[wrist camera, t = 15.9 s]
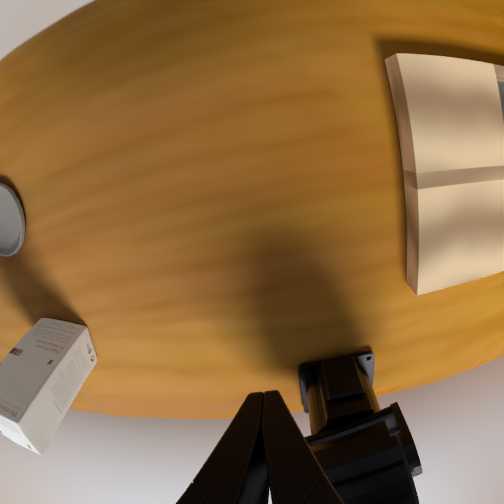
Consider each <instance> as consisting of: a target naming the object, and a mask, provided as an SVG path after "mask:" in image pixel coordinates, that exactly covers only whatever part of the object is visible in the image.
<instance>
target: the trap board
mask: <svg viewBox="0 0 504 504" xmlns="http://www.w3.org/2000/svg"><path fill="white" fill-rule="evenodd" d="M384 61H385V65H386V69H387V73H388V78H389V82H390V87H391V92H392V97H393V103H394V108H395V114H396V120H397V126H398V133H399V140H400V148H401V156H402V165H403V175H404V187H405V202H406V225H407V278H406V283H407V284H408V285H409V286H410V288H411V289H412V290H413V291H414V292H415V294H416V295H421V294H425V293H429V292H432V291H436V290H440V289H444V288H447V287H451V286H455V285H458V284H462V283H465V282H469V281H472V280H476V279H479V278H482V277H486V276H489V275H492V274H495V273H498V272H501V271H504V66H500V65H495V64H491V63H485V62H480V61H474V60H467V59H460V58H453V57H444V56H434V55H422V54H404V53H396V54H394V55H392V56H390V57H388V58H387V59H385V60H384Z"/></svg>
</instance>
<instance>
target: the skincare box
mask: <svg viewBox="0 0 504 504" xmlns="http://www.w3.org/2000/svg"><path fill="white" fill-rule="evenodd" d="M96 362H97V356H96V353H95V349H94V346H93V343H92V340H91V337H90V334H89V331H88V328H87V327H86V326H83V325H79V324H75V323H70V322H66V321H61V320H56V319H50V318H41V319H40V320H39V321H38V322H37V323H36V324H35V325H34V326H33V327H32V328H31V329H30V330H29V331H28V332H27V333H26V335H25V336H24V337H23V338H22V339H21V340H20V341H19V342H18V343H17V344H16V346H15V347H14V348H13V349H12V350H11V351H10V352H9V354H8V355H7V356H6V357H5V358H4V360H3V361H2V362H1V363H0V433H1V434H3V435H4V436H6V437H8V438H9V439H11V440H12V441H14V442H15V443H17V444H19V445H21V446H23V447H26V448H28V449H30V450H31V451H33V452H36V453H37V454H40V455H43V454H44V452H45V450H46V448H47V446H48V444H49V442H50V440H51V439H52V437H53V435H54V433H55V431H56V429H57V428H58V426H59V424H60V423H61V421H62V419H63V417H64V415H65V414H66V412H67V410H68V408H69V407H70V405H71V403H72V402H73V400H74V398H75V397H76V395H77V393H78V392H79V390H80V388H81V387H82V385H83V383H84V382H85V380H86V378H87V377H88V375H89V373H90V372H91V370H92V369H93V367H94V365H95V364H96Z"/></svg>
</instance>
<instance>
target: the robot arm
mask: <svg viewBox="0 0 504 504" xmlns="http://www.w3.org/2000/svg"><path fill="white" fill-rule="evenodd" d="M368 356H369V357H368ZM367 357H368V358H367ZM302 369H306V370H302ZM373 372H374V354H373V352H372V351H366V352H361V353H357V354H352V355H347V356H342V357H337V358H332V359H327V360H322V361H316V362H310V363H304V364H301V365H299V367H298V373H299V380H300V386H301V393H302V399H303V406H304V412H306V413H309V419H310V427H311V435H310V436H307V437H303V435H302V433H301V431H300V429H299V427H298V426H297V424H296V422H295V420H294V418H293V417H292V415H291V413H290V411H289V409H288V407H287V406H286V404H285V402H284V400H283V398H282V396H281V395H280V393H279V391H278V390H272V391H265V392H264V393H263V392H254V393H250V394H248V396H247V397H246V399H245V401H244V402H243V404H242V406H241V407H240V409H239V411H238V412H237V414H236V415H235V417H234V419H233V420H232V422H231V424H230V425H229V427H228V428H227V430H226V431H225V433H224V435H223V436H222V438H221V439H220V441H219V442H218V444H217V445H216V447H215V448H214V450H213V451H212V453H211V454H210V456H209V458H208V459H207V461H206V462H205V463H204V465H203V467H202V468H201V469H200V471H199V472H198V474H197V475H196V477H195V478H194V480H193V483H191V484H190V485H189V487H188V488H187V489H186V491H185V492H184V494H183V495H182V496H181V498H180V499H179V500H178V501H177V503H176V504H268V498H269V488H270V491H271V499H272V504H419V500H418V496H417V492H416V488H415V485H414V481H413V478H412V477H414V476H417V475H419V474H421V473H422V468H421V463H420V459H419V456H418V453H417V450H416V446H415V444H414V441H413V438H412V435H411V433H410V431H409V428H408V426H407V424H406V421H405V419H404V417H403V414H402V412H401V410H400V407H399V405H398V403H397V402H395V403H393V404H391V406H389V407H387V408H384V409H382V410H380V407H379V404H378V402H377V399H376V396H375V393H374V390H373V387H372V384H373Z"/></svg>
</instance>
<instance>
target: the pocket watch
mask: <svg viewBox="0 0 504 504" xmlns="http://www.w3.org/2000/svg"><path fill="white" fill-rule="evenodd" d="M24 235H25V219H24V214H23V209H22V207H21V204H20V201H19V199H18V198H17V196H16V195H15V193H14V191H13V190H12V189H11V188H9V187H8V186H7V185H5V184H2V183H0V255H2V256H7V257H8V256H12V255H13V254H15V253H17V252H18V250H19V249H20V248H21V246H22V244H23V241H24Z"/></svg>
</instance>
